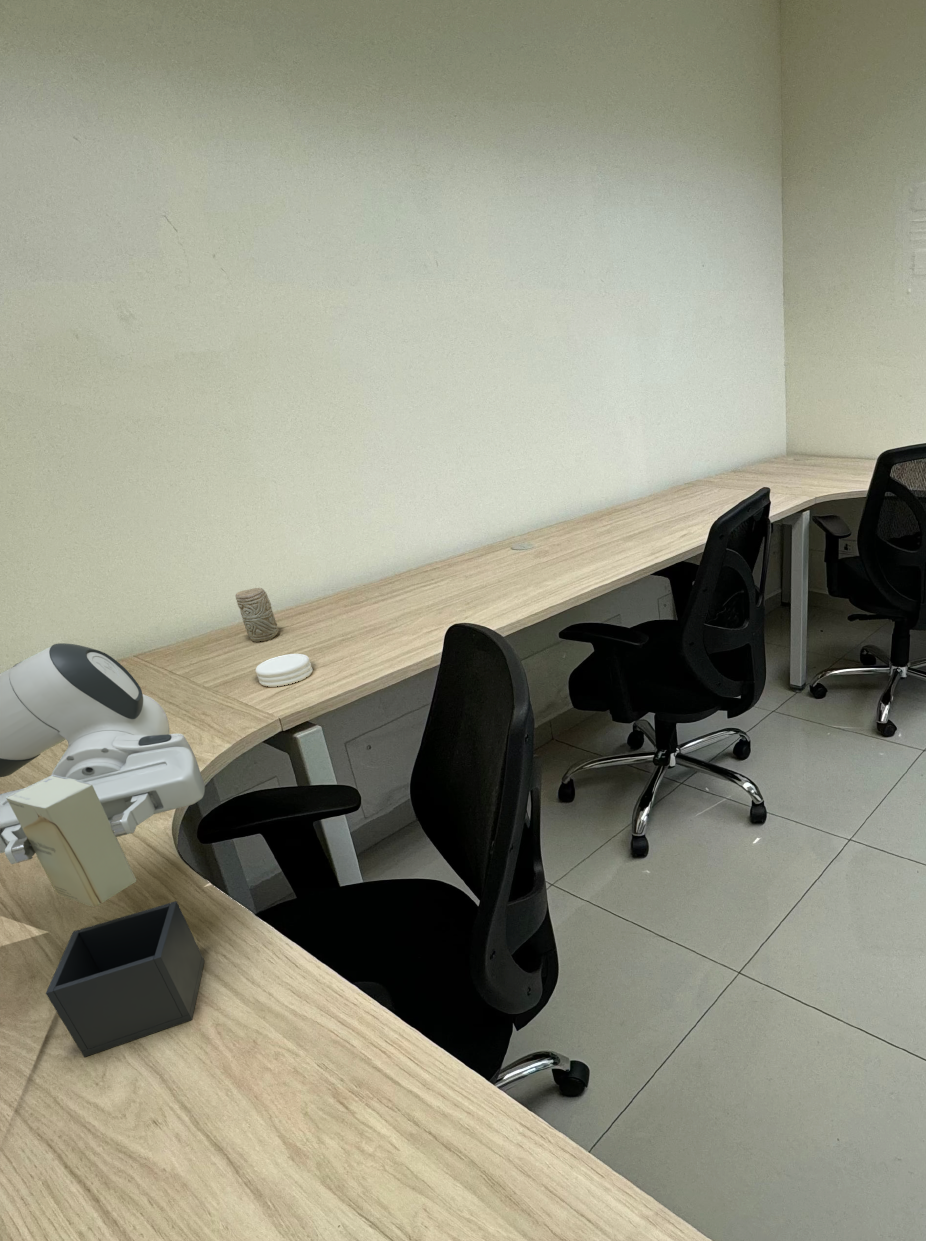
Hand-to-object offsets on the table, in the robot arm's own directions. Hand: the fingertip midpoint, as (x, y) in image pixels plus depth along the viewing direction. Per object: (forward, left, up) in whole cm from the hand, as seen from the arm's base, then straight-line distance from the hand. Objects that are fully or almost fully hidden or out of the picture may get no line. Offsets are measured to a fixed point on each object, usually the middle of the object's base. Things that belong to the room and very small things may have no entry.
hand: (70, 842), depth 74 cm
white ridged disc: (+10, +88, -20) cm, 91 cm away
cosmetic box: (0, +1, -7) cm, 7 cm away
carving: (+4, +118, -20) cm, 120 cm away
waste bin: (+1, -3, -20) cm, 20 cm away
